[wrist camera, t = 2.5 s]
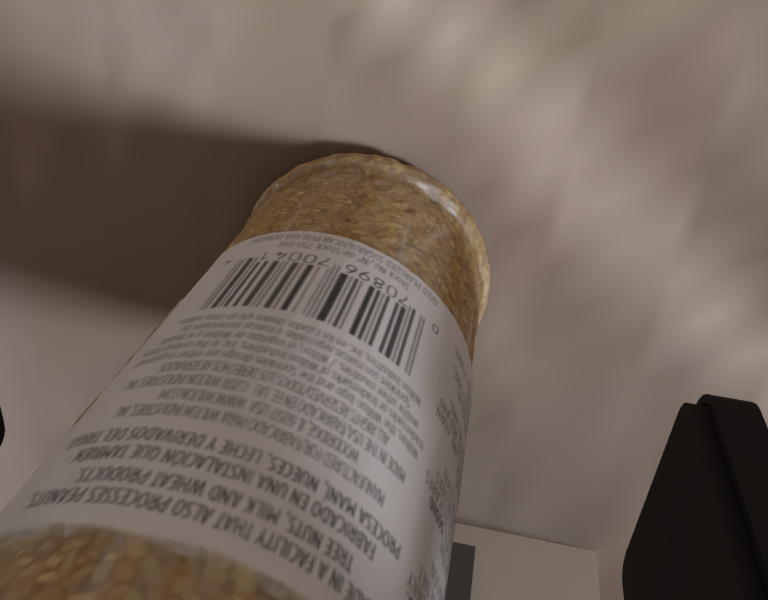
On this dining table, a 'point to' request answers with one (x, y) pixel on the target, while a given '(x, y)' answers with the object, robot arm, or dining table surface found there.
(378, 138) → the dining table surface
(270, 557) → the sprinkles bottle
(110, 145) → the dining table surface
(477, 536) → the lettered cube
